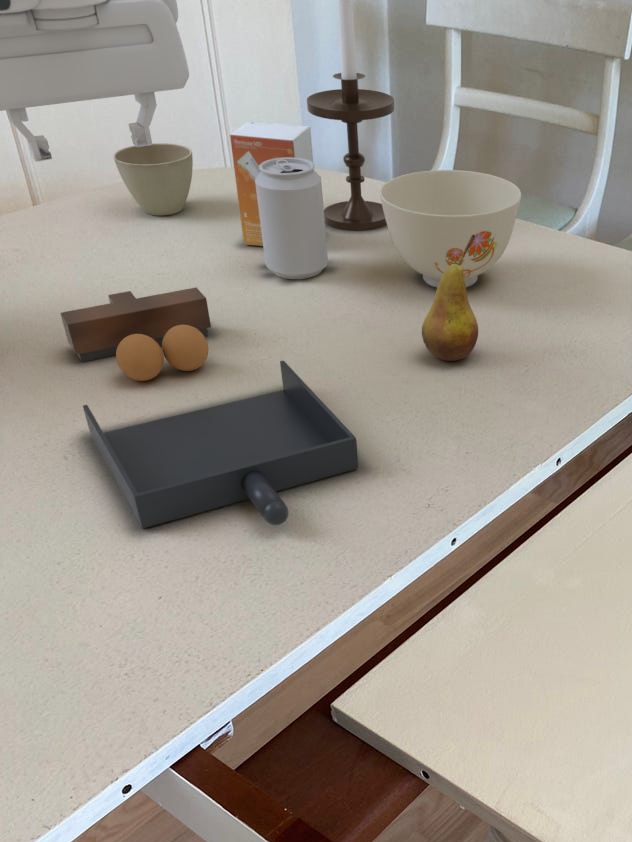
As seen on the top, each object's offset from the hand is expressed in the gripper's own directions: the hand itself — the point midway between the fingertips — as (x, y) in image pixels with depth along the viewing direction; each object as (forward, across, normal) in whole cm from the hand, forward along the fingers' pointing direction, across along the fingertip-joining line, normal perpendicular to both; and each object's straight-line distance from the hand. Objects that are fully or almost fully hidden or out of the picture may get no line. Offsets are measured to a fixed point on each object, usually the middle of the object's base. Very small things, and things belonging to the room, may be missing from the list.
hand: (93, 152), depth 92 cm
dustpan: (+18, +1, +32) cm, 36 cm away
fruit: (+18, -26, +22) cm, 39 cm away
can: (+18, -22, -7) cm, 29 cm away
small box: (+18, -24, -17) cm, 35 cm away
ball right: (+16, -2, +11) cm, 19 cm away
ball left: (+16, +2, +11) cm, 19 cm away
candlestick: (+18, -36, -20) cm, 45 cm away
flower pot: (+18, -14, -36) cm, 42 cm away
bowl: (+18, -37, +4) cm, 41 cm away
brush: (+18, 0, +1) cm, 18 cm away
